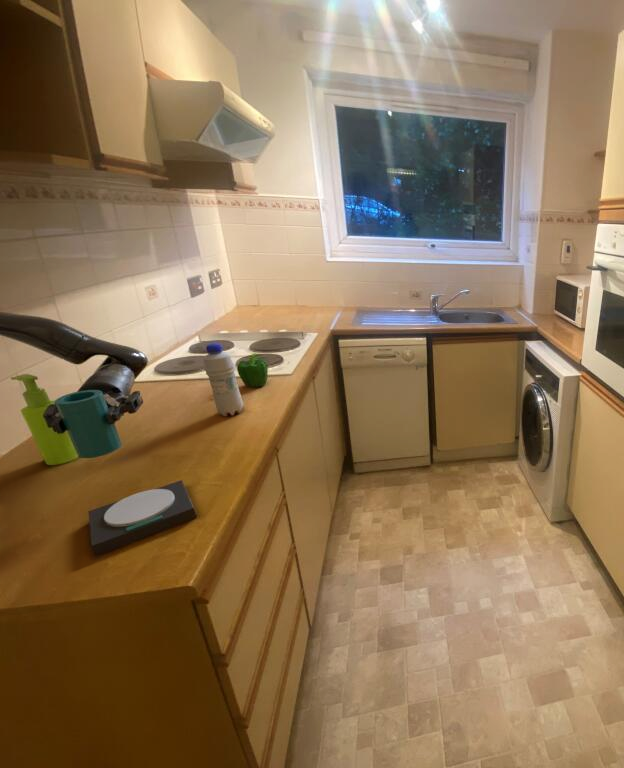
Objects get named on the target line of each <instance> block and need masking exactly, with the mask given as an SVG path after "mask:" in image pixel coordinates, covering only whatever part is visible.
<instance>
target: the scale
mask: <svg viewBox="0 0 624 768" xmlns="http://www.w3.org/2000/svg"><path fill="white" fill-rule="evenodd" d="M197 517H198V516H197V513H196V510H195V507H194V505H193V503H192V500H191V498H190V496H189V493H188V491H187V488H186V486H185V484H184V482H183V479H181V480H178V481H175V482H171V483H169V484H166V485H162V486H159V487H156V488H152V489H148V490H143V491H140V492H137V493H133V494H131V495H129V496H126V497H125V498H122V499H121V500H117V501H115V502H112V503H109V504H106V505H103V506H100V507H96V508H94V509H91V510H88V521H89V532H90V542H91V543H90V544H91V545H90V546H91V548H92V550H93V553H94V555H95V557H98V556H100V555H104V554H105V553H108V552H111V551H114V550H117V549H119V548H122V547H124V546H127V545H130V544H132V543H134V542H137V541H140V540H142V539H145V538H148V537H150V536H153V535H155V534H157V533H160V532H162V531H165V530H168V529H170V528H173V527H176V526H178V525H181V524H184V523H186V522H188V521H191V520H194V519H196V518H197Z"/></svg>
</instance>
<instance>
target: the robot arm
mask: <svg viewBox="0 0 624 768" xmlns="http://www.w3.org/2000/svg"><path fill="white" fill-rule="evenodd" d="M0 336H1V337H5V338H6V339H11V340H14V341H17V342H20V343H22V344H25V345H27V346H30V347H33V348H35V349H37V350H40V351H42V352H44V353H46V354H49V355H52V356H54V357H55V358H59V359H60V360H63V361H65V362H68V363H70V364H73V365H82V364H84V363H86V362H87V361H89V360H90V359H91V358H93V357H96V356H107V357H105V359H104V360H103V361H102V362H101V363H100V365H99V366H98V367H97V368H96V369H95V371H94V372H93V373H92V375H90V376H89V377H88V378H87V379H86V380H85V381H83V383H82V385H81V386H80V387H79V388H78V389H77V391H76V392H79V391H86V390H99V391H102V393H103V396H104V399H105V401H106V404H107V406H108V411H107V413H106V418H107V420H108V423H109V425H111V424H116V423H117V422H119V421H120V420H121V417H123V416H125V414H126V413H127V414H129V415H131V414H135V413H137V412H138V410H139V409H140V408H141V407H142V405H143V404H144V399H143V396H142V394H141V391H140V390H135V391H132V389H133V387H134V384H135V381H136V380H137V378H138V377H139V376H140V374H141V373H143V371H144V370H145V369H146V368H147V366H148V364H149V360H148V357H147V356H146V355H145V353H143V352H142V351H141V350H139V349H137V348H134V347H131V346H127V345H122V344H118V343H115V342H110V341H106V340H104V339H99V338H96V337H94V336H91V335H89V334H87V333H85V332H83V331H81V330H78V329H76V328H74V327H72V326H70V325H68V324H66V323H63V322H61V321H58V320H55V319H51V318H47V317H42V316H35V315H26V314H17V313H10V312H4V311H0ZM43 417H44V419H45V421H46V423H47V426H48V428H52V429H53V431H54V432H57V433H58V434H61V433H64V432H65V431H66V427H65V425H64V423H63V421H62V418H61V416H60V414H59V411H58V409H57V407H56V404H51V405H49V406H48V407H47V409H46V410H45V412H44V414H43Z"/></svg>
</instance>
